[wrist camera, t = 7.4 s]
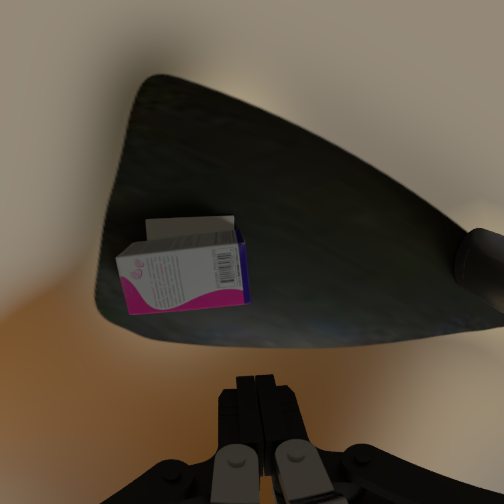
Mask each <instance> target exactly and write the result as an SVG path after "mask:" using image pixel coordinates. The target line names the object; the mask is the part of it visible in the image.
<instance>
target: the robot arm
mask: <svg viewBox="0 0 504 504" xmlns="http://www.w3.org/2000/svg"><path fill="white" fill-rule="evenodd" d="M454 274H455V279H456V281H457V283H458V284H459V286H460V287H462V288H464V289H465V290H467V291H469V292H470V293H472V294H473V295H475V296H477V297H478V298H480V299H481V300H483V301H485V302H486V303H488V304H489V305H491V306H493V307H494V308H496V309H497V310H499V311H500V312H502V313H504V236H503V235H500V234H498V233H495V232H491V231H489V230H485V229H483V228H476V229H473V230H472V231H470V232H469V233H468V234H467V235H466V236H465V237H464V239H463V240H462V242H461V244H460V246H459V248H458V251H457V253H456V258H455V264H454ZM236 383H237V389H224V390H223V391H222V393H221V394H220V396H219V398H218V399H219V400H218V449H217V451H216V453H215V455H214V456H213V457H211V458H210V459H209V460H207V461H205V462H202V463H198V464H194V465H187V464H186V463H184V462H182V461H180V460H174V459H173V460H172V459H169V460H164V461H161V462H159V463H157V464H156V465H155V466H153V467H152V468H151V469H149V470H148V471H146V472H145V473H144V474H143V475H141V476H140V477H138V478H137V479H135V480H134V481H133V482H131V483H130V484H128V485H127V486H125V487H124V488H123V489H121V490H120V491H118V492H117V493H115V494H114V495H112V496H111V497H109V498H108V499H106V500H105V501H103V502H102V503H100V504H259V491H260V477H261V476H263V467H264V473H265V476H271V477H272V483H273V488H272V492H273V496H274V500H275V504H504V494H501V493H497V492H493V491H490V490H486V489H483V488H479V487H476V486H473V485H470V484H466V483H464V482H460V481H458V480H454V479H452V478H449V477H446V476H443V475H441V474H438V473H435V472H433V471H430V470H427V469H425V468H422V467H420V466H417V465H415V464H412V463H410V462H408V461H405V460H403V459H401V458H398V457H396V456H394V455H391V454H389V453H387V452H385V451H383V450H380V449H378V448H376V447H374V446H372V445H369V444H355V445H352V446H350V447H349V448H347V449H346V450H345V451H344V452H331V451H324V450H321V449H319V448H317V447H315V446H314V445H313V444H312V443H311V442H310V441H309V439H308V436H307V432H306V429H305V426H304V423H303V420H302V416H301V413H300V410H299V407H298V404H297V400H296V396H295V393H294V392H293V391H292V390H291V389H290V388H289V387H288V386H287V385H283V386H276V384H275V379H274V376H273V374H270V375H256V376H255V379H254V376H239V377H236Z"/></svg>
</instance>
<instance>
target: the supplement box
mask: <svg viewBox="0 0 504 504" xmlns="http://www.w3.org/2000/svg"><path fill="white" fill-rule="evenodd" d="M116 263H117V268H118V272H119V277H120V281H121V285H122V289H123V293H124V297H125V300H126V304H127V308H128V312H129V314H130V315H137V314H148V313H161V312H174V311H184V310H195V309H205V308H215V307H225V306H234V305H243V304H250V303H251V296H250V287H249V277H248V266H247V255H246V244H245V240H244V238H243V235H242V232H241V230H240V229H237V230H230V231H221V232H213V233H205V234H196V235H188V236H180V237H172V238H164V239H156V240H148V241H140V242H134V243H132V244H131V245H130V246H128V247H127V248H126V249H125V250H124V251H123V252H122V253H121V254H119V255H118V256H117V257H116Z"/></svg>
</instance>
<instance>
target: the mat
mask: <svg viewBox="0 0 504 504" xmlns="http://www.w3.org/2000/svg"><path fill="white" fill-rule="evenodd" d="M230 230H234V216H205V217H181V218H161V219H146V232H147V241H148V240H156V239H164V238H172V237H180V236H188V235H196V234H205V233H213V232H221V231H230Z"/></svg>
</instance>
